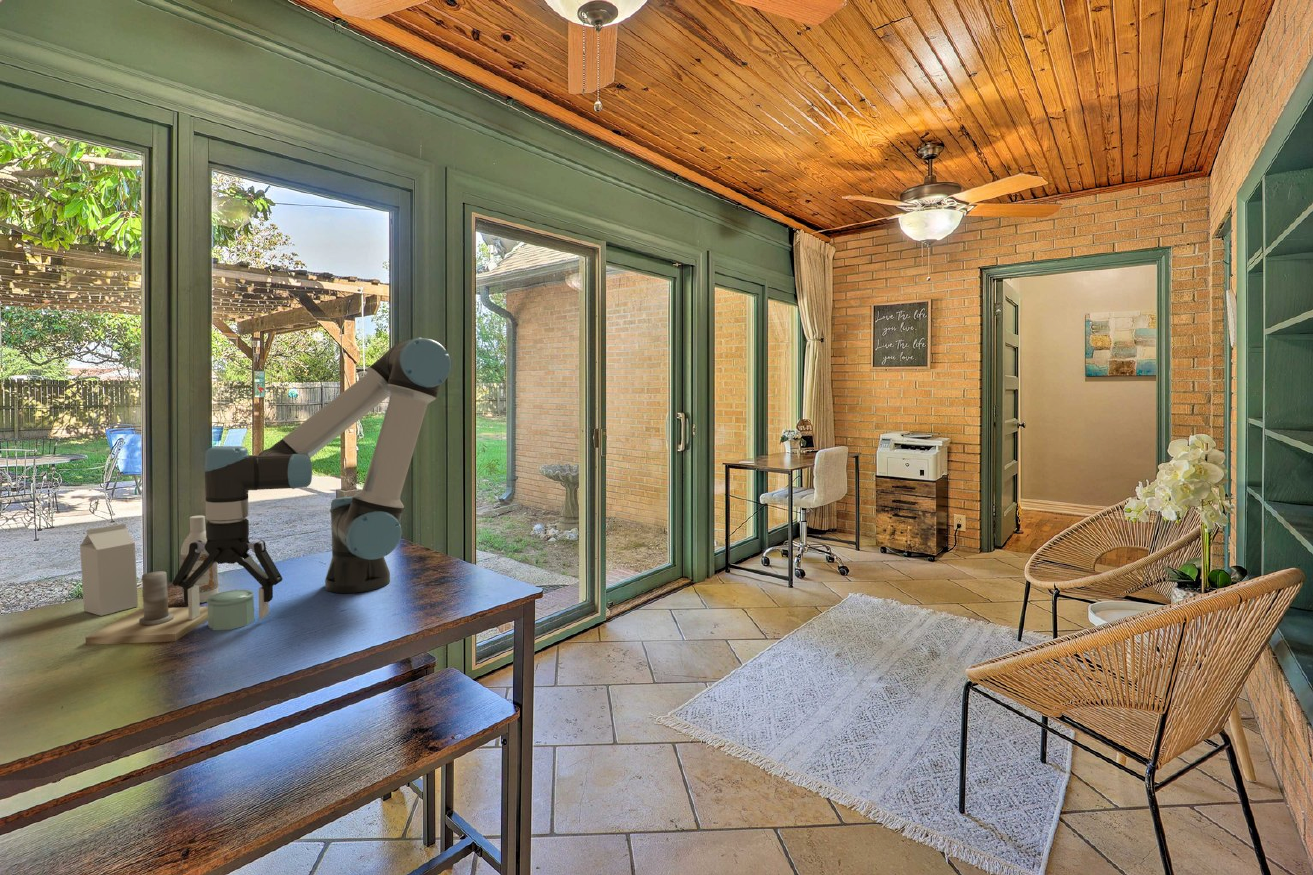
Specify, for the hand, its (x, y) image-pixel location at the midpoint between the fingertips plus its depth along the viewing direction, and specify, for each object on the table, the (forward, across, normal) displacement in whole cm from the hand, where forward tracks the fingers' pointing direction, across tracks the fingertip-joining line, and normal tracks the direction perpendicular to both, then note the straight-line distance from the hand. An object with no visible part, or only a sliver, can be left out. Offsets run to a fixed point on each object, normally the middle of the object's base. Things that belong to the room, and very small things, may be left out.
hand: (229, 617), depth 135 cm
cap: (+1, 0, 0) cm, 1 cm away
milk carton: (+2, +31, -12) cm, 33 cm away
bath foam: (+2, +15, -17) cm, 23 cm away
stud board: (+2, +14, +1) cm, 14 cm away
